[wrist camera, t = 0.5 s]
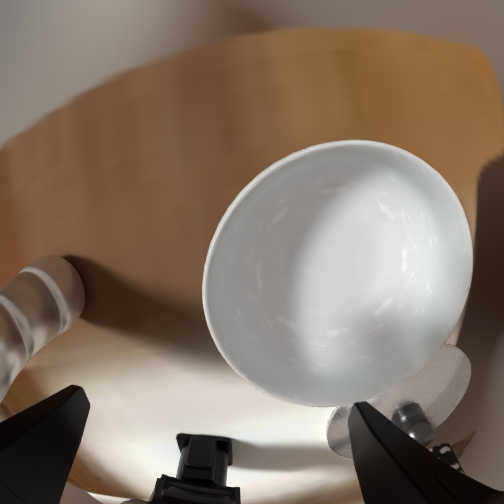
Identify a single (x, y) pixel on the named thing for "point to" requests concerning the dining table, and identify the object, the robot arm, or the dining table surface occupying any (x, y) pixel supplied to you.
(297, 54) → the dining table surface
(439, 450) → the white-spotted black cylinder
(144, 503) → the coffee pot
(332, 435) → the steel lid
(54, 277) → the plastic bottle
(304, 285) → the cereal bowl
